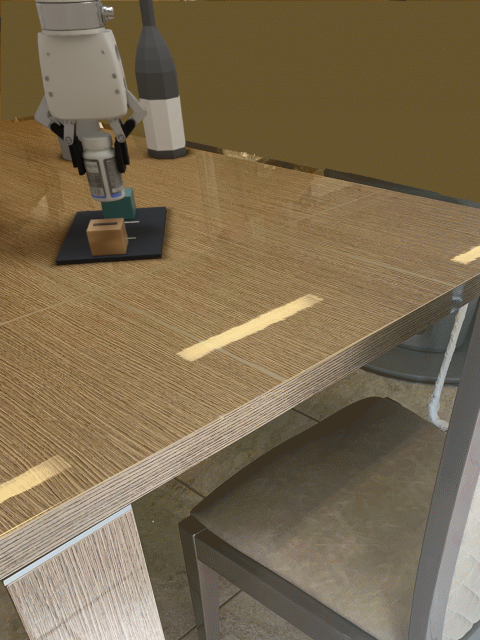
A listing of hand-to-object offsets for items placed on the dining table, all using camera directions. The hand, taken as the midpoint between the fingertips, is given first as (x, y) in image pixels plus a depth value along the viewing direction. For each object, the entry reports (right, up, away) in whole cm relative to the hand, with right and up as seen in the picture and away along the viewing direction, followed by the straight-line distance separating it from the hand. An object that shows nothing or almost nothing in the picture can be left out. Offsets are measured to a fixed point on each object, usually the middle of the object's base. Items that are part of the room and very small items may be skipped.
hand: (103, 170), depth 90 cm
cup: (-18, +19, +41) cm, 49 cm away
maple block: (+1, -11, 0) cm, 11 cm away
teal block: (-1, -3, +11) cm, 11 cm away
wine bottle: (-1, +20, +42) cm, 46 cm away
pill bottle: (0, -3, +2) cm, 4 cm away
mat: (0, -7, +6) cm, 9 cm away
